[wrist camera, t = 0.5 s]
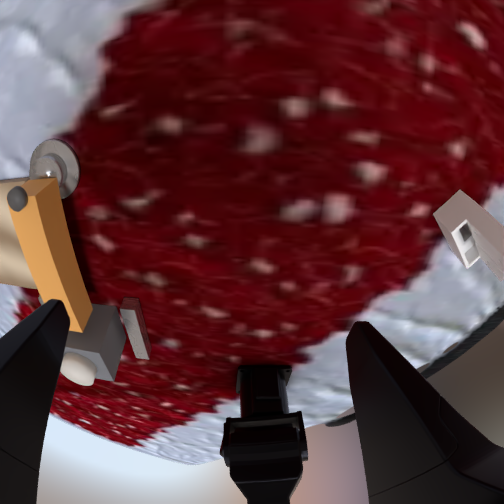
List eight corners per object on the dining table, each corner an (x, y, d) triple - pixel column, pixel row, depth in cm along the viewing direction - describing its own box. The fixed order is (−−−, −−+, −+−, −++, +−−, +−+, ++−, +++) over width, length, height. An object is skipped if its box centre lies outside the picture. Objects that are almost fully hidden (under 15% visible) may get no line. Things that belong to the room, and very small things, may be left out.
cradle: (151, 348, 31) (148, 360, 30) (67, 335, 30) (62, 346, 29) (114, 132, 18) (104, 138, 16) (4, 147, 17) (-9, 154, 15)
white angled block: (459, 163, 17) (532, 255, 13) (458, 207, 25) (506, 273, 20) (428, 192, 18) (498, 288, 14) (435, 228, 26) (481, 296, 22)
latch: (92, 308, 24) (80, 337, 22) (67, 305, 24) (54, 332, 21) (55, 167, 17) (27, 188, 14) (26, 170, 16) (-2, 191, 13)
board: (62, 286, 25) (59, 292, 25) (-9, 276, 25) (-12, 281, 24) (30, 177, 19) (25, 180, 18) (-41, 186, 18) (-45, 190, 17)
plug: (126, 337, 30) (110, 393, 24) (81, 330, 30) (61, 382, 23) (116, 306, 27) (94, 366, 21) (68, 300, 27) (41, 354, 21)
